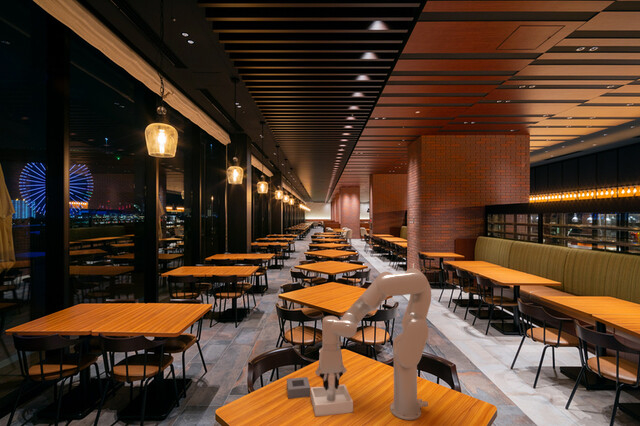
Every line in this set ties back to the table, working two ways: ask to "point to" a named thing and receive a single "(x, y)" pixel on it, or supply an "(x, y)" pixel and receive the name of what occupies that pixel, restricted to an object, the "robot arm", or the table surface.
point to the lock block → (298, 387)
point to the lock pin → (331, 386)
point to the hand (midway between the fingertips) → (331, 387)
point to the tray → (331, 407)
